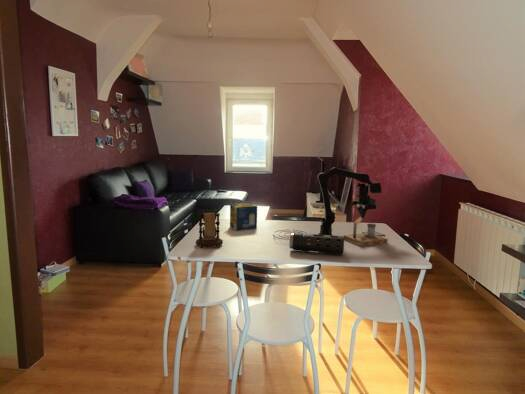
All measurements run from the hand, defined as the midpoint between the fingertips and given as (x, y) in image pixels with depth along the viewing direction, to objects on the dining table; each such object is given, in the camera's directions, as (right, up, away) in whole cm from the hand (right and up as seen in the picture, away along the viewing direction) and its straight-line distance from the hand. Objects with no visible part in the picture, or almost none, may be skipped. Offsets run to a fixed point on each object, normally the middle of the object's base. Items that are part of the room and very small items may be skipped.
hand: (362, 218), depth 234 cm
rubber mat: (+9, -11, +8) cm, 16 cm away
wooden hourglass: (-92, -14, -25) cm, 96 cm away
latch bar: (-5, -10, -5) cm, 12 cm away
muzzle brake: (-34, -17, -34) cm, 51 cm away
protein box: (-75, -8, +16) cm, 77 cm away
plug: (+3, -13, -8) cm, 15 cm away
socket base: (-1, -13, -9) cm, 16 cm away
